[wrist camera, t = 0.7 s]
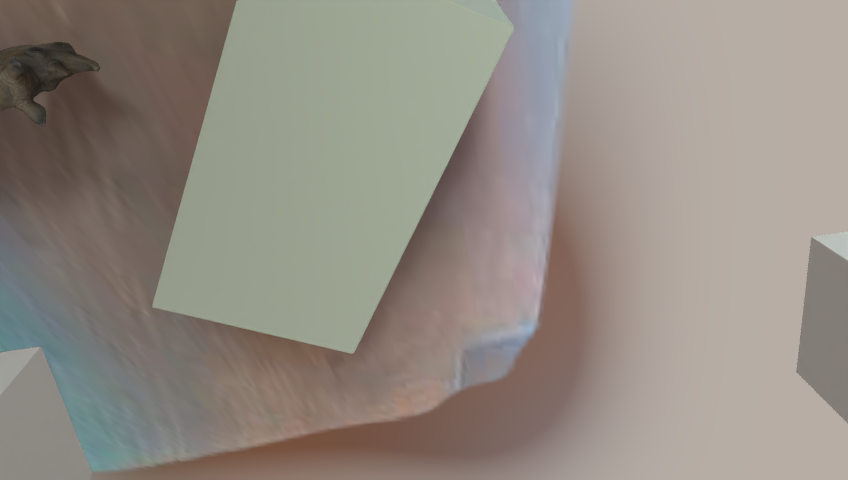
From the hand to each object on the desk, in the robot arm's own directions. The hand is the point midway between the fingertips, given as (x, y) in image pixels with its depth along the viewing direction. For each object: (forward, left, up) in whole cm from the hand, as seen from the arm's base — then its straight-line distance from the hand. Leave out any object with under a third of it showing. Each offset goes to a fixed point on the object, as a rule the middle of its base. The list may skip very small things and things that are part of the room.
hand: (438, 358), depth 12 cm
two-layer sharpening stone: (+7, 0, -24) cm, 25 cm away
